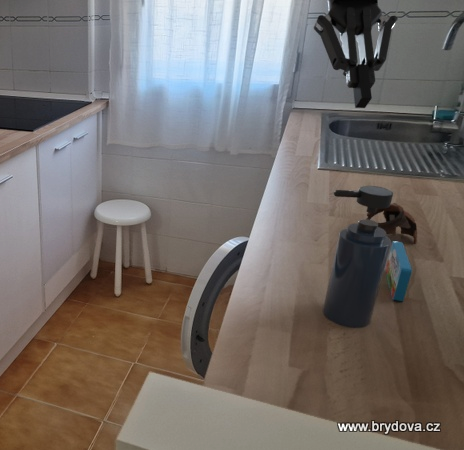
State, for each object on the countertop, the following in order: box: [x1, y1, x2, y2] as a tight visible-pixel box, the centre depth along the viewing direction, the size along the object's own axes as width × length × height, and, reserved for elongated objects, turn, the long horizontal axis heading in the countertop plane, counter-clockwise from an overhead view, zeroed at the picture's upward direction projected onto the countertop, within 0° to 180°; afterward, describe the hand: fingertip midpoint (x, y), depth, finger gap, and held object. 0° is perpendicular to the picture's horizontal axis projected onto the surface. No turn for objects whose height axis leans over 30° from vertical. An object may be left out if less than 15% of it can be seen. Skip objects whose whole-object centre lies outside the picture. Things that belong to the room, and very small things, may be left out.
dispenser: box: [322, 218, 392, 329], centre depth 84 cm, size 7×7×16 cm
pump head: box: [333, 185, 394, 213], centre depth 80 cm, size 8×4×3 cm, turn 81°
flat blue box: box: [384, 240, 413, 303], centre depth 95 cm, size 12×2×6 cm, turn 157°
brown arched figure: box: [366, 202, 418, 245], centre depth 115 cm, size 12×10×8 cm
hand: (363, 103), depth 86 cm, fingers closed
